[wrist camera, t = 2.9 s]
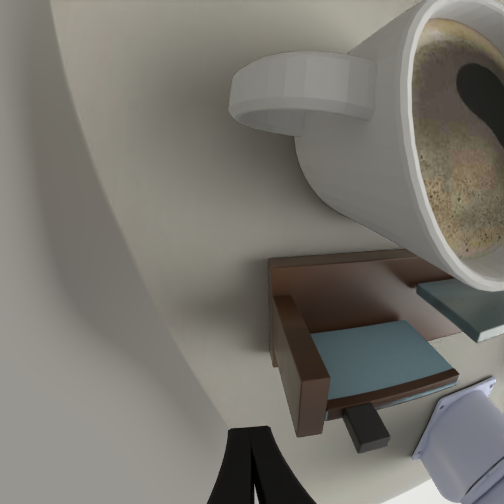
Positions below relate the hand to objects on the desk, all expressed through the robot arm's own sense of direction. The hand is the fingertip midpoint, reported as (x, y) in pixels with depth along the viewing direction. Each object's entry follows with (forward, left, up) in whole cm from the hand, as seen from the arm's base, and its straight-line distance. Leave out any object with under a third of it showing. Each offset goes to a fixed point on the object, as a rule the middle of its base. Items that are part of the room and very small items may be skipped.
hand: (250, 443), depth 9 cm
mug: (+11, -7, -9) cm, 15 cm away
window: (+1, -10, -8) cm, 13 cm away
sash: (0, -6, -7) cm, 9 cm away
